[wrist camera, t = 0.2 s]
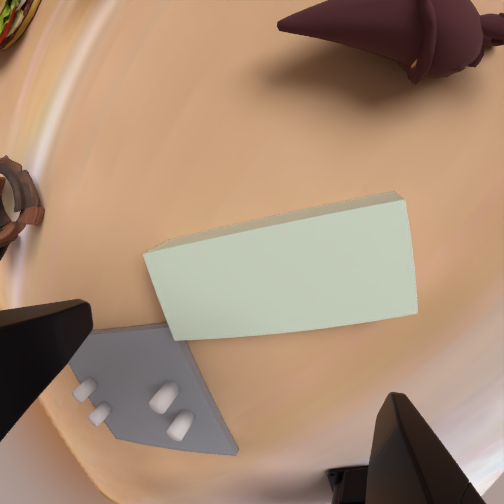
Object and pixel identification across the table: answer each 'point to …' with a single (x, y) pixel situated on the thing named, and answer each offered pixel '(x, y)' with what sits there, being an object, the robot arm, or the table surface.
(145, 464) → the table surface
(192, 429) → the peg plate
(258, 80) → the table surface
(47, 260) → the table surface
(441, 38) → the icecream
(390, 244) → the shelf board
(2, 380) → the robot arm
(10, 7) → the food
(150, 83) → the table surface
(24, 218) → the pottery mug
